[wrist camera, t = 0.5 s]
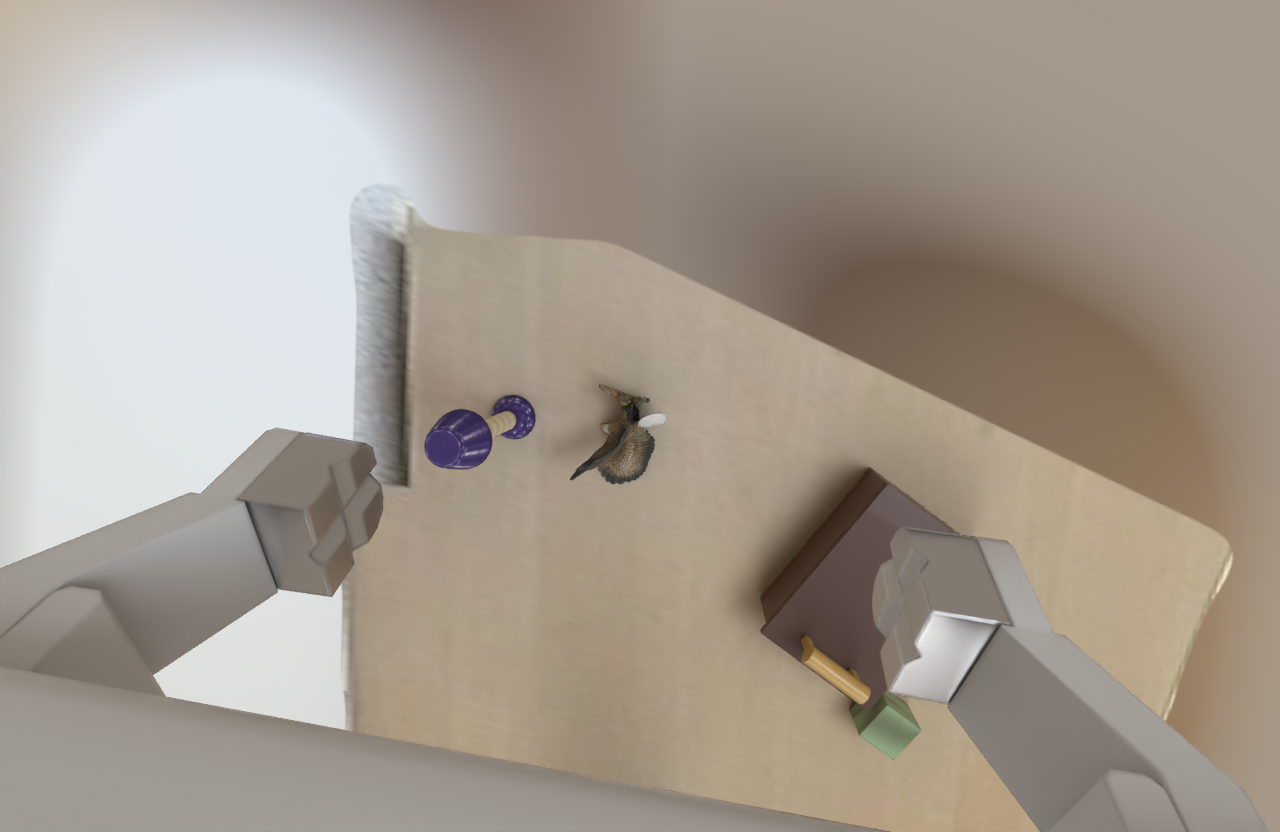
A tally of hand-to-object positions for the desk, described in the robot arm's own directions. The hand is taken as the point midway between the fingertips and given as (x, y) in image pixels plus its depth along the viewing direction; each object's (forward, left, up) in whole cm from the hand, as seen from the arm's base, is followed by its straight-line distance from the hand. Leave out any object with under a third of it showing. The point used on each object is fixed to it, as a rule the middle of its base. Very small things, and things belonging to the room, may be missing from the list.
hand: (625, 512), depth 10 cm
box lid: (-26, -7, -45) cm, 53 cm away
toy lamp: (+1, +18, -51) cm, 54 cm away
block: (-40, -4, -51) cm, 65 cm away
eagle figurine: (-5, +9, -51) cm, 52 cm away
